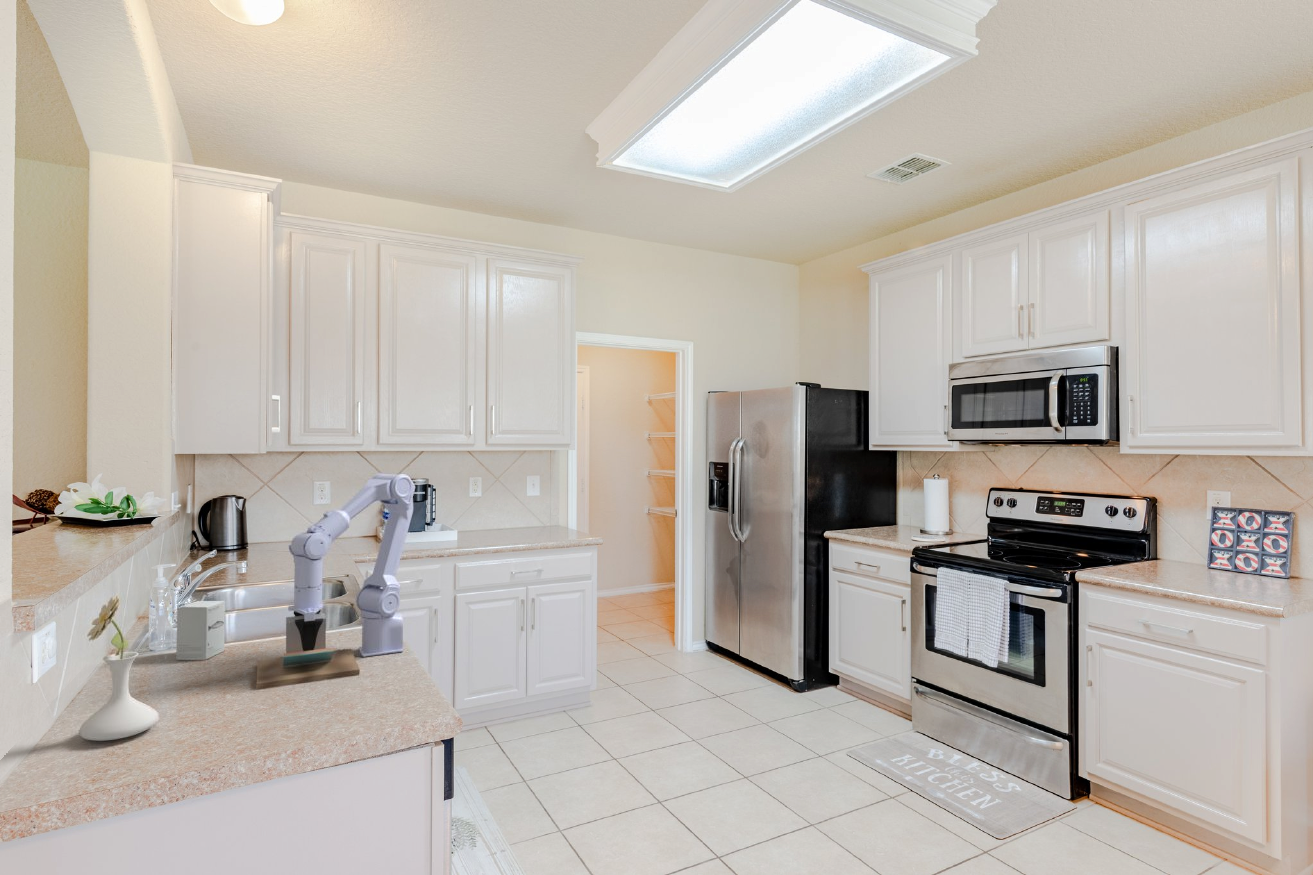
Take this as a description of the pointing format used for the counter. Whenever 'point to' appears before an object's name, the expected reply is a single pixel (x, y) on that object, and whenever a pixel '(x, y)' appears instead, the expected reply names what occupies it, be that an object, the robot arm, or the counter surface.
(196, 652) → the supplement box
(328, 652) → the tile
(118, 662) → the flower in vase
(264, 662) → the board
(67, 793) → the counter surface
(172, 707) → the counter surface
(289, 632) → the grey rectangular block
